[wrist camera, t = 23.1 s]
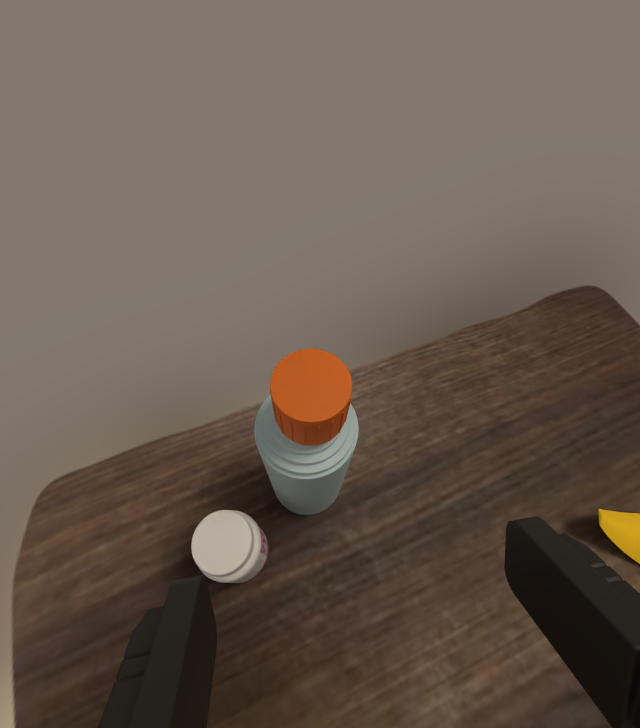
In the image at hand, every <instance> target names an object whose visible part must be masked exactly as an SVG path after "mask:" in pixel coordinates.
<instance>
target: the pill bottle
mask: <svg viewBox="0 0 640 728" xmlns="http://www.w3.org/2000/svg"><path fill="white" fill-rule="evenodd" d="M191 550H192V555H193V558H194V561H195V562H196V564H197V566H198V567H199V569H200V570H201V571H202V573H203V574H204V575H205V576H207V577H208V578H210V579H212V580H214V581H217V582H223V583H243V582H246V581H248V580H250V579H252V578H253V577H255V576H256V575H257V574H258V573H259V572H260V571H261V569H262V568H263V566H264V564H265V562H266V559H267V556H268V542H267V538H266V536H265V534H264V532H263V530H262V529H261V528H260V527H259V526H258V524H257V523H256V522H255V521H254V520H253V519H252V518H251V517H250V516H249V515H247V514H245V513H243V512H240V511H236V510H219V511H216V512H213V513H211V514H210V515H208V516H207V517H205V518H204V519H203V520H202V521H201V522H200V523H199V525H198V526H197V528H196V530H195V532H194V534H193V537H192V543H191Z"/></svg>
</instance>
